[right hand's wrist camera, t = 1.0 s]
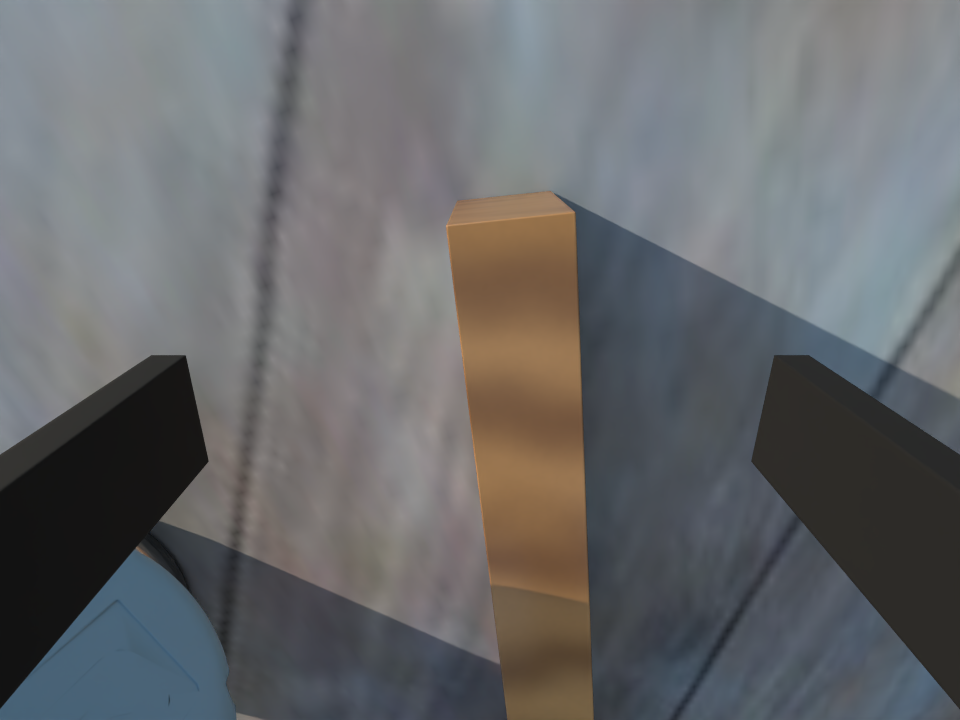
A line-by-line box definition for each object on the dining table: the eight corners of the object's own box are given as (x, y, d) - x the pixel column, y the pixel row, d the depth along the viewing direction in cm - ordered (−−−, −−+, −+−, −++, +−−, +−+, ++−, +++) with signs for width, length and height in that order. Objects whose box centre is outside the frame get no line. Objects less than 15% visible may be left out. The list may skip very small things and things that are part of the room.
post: (456, 200, 26) (445, 225, 19) (551, 190, 26) (576, 211, 19) (531, 850, 46) (539, 980, 39) (585, 847, 46) (603, 978, 39)
